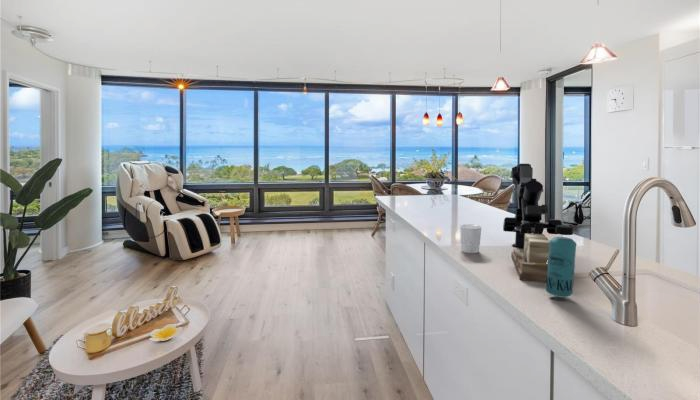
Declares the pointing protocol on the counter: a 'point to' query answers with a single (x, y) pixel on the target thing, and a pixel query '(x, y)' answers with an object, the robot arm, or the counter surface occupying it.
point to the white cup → (470, 238)
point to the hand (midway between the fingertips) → (533, 245)
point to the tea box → (536, 248)
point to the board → (527, 276)
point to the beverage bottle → (561, 263)
